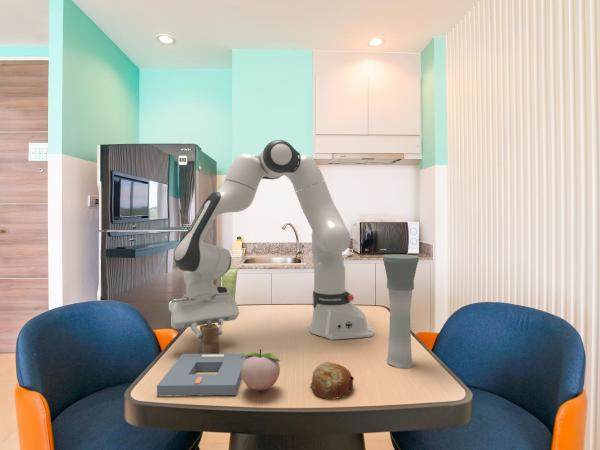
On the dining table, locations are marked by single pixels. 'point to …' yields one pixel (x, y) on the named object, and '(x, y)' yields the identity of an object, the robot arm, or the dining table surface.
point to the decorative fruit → (260, 370)
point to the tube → (230, 280)
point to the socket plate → (203, 375)
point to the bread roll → (331, 381)
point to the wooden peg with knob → (209, 338)
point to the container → (400, 307)
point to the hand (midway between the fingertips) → (209, 335)
